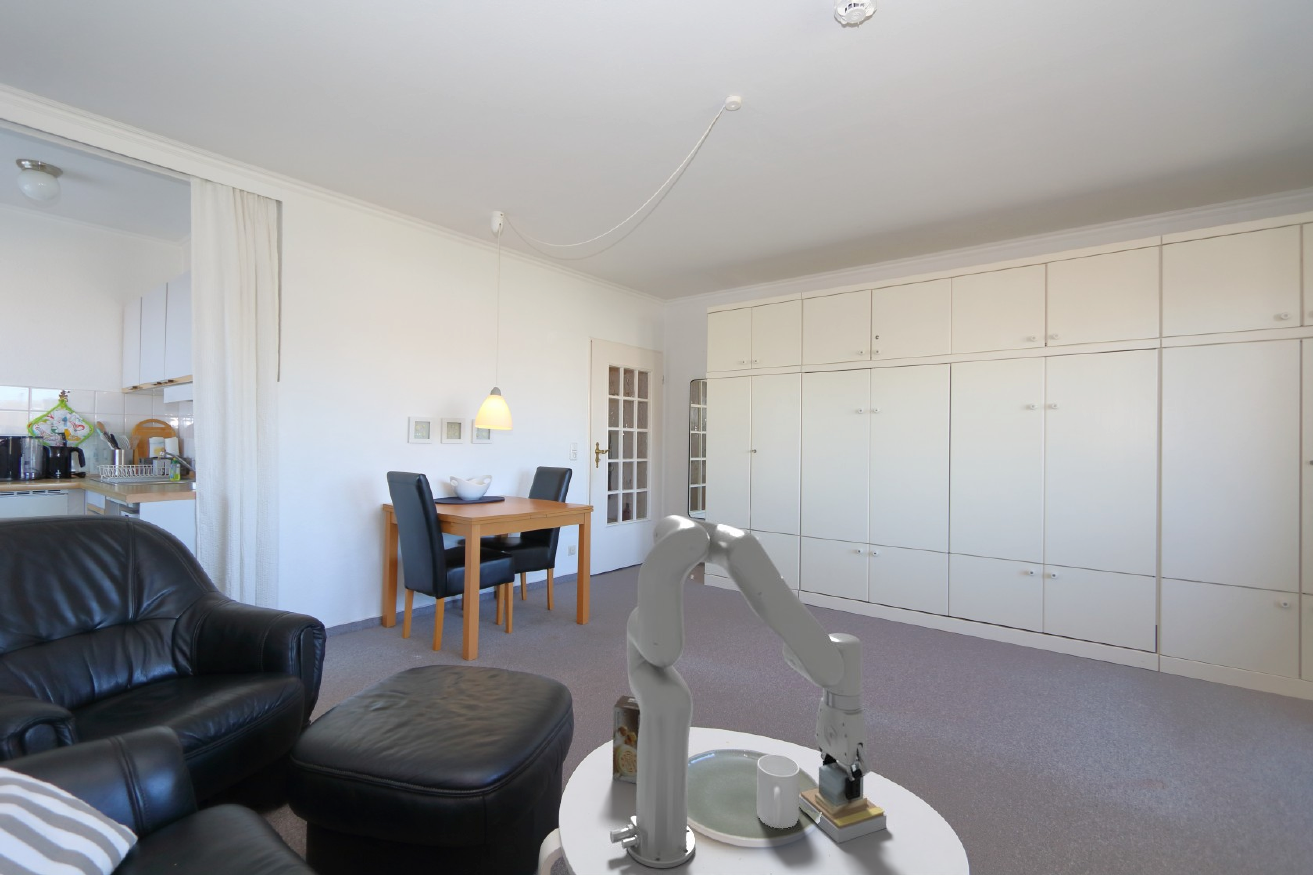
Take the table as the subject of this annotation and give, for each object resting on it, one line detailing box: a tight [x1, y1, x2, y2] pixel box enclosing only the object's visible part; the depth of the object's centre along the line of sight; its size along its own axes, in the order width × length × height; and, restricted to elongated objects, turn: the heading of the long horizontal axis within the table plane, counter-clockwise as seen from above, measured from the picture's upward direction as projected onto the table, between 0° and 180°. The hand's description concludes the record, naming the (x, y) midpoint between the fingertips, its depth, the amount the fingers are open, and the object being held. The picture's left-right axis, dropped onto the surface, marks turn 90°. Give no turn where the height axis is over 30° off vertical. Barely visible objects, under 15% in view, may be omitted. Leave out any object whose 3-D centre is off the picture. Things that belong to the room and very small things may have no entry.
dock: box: [799, 787, 887, 844], centre depth 115 cm, size 12×12×3 cm
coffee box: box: [612, 695, 640, 784], centre depth 129 cm, size 9×6×16 cm
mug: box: [756, 753, 800, 830], centre depth 113 cm, size 12×8×10 cm
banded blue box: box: [815, 761, 868, 814], centre depth 115 cm, size 9×5×6 cm, turn 115°
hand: (840, 787), depth 115 cm, fingers open, 6 cm apart
